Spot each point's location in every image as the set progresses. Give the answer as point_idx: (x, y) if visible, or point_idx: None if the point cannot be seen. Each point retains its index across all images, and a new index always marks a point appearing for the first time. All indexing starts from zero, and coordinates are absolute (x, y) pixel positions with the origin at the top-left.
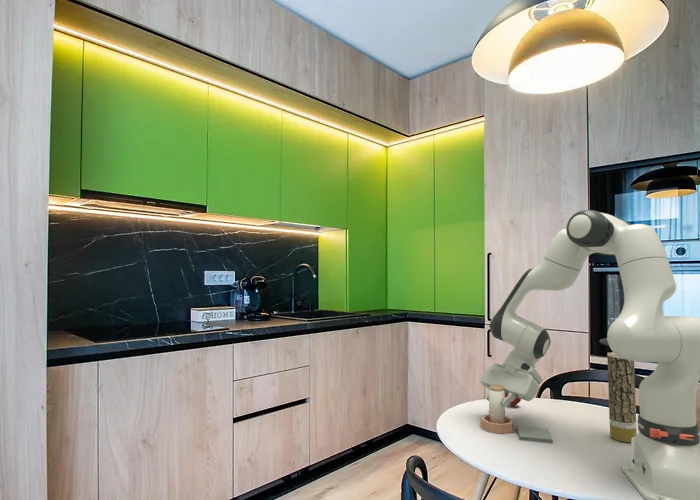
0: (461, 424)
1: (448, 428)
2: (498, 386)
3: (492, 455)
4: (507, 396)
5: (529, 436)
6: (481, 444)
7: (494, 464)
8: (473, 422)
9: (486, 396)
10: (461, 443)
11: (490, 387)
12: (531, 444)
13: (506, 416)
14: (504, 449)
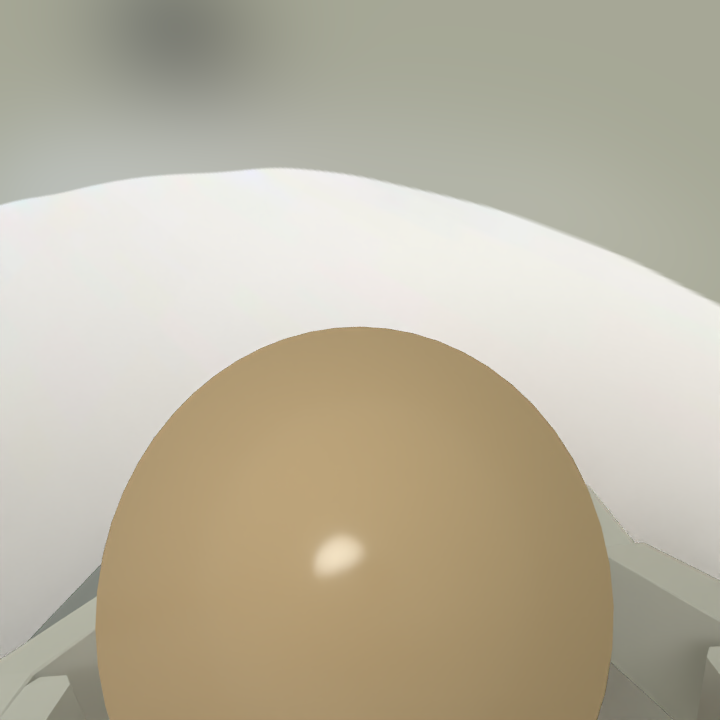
0: (565, 355)
1: (511, 248)
2: (298, 600)
3: (110, 259)
4: (88, 628)
5: None
6: (227, 284)
7: (55, 222)
8: (591, 468)
9: (590, 494)
10: (289, 211)
11: (387, 340)
12: (37, 565)
13: None
14: (112, 349)
